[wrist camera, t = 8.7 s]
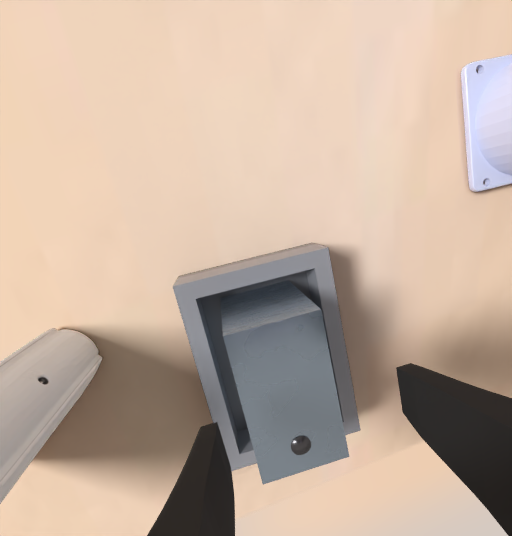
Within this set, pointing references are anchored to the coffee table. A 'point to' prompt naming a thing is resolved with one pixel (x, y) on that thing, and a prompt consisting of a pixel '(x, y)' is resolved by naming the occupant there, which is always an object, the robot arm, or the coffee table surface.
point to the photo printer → (40, 395)
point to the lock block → (284, 379)
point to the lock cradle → (213, 346)
